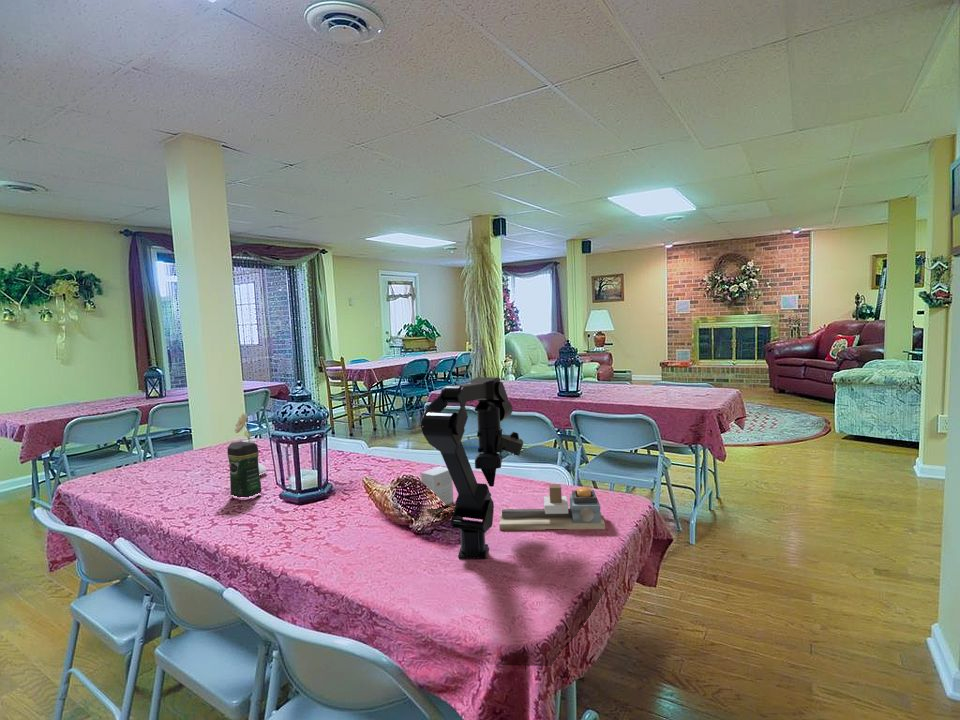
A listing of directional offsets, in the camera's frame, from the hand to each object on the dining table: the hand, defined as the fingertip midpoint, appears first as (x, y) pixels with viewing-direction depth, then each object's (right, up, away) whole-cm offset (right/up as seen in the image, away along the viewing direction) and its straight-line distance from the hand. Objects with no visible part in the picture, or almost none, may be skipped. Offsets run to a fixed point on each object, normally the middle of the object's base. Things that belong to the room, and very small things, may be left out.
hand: (491, 486), depth 128 cm
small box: (-16, -11, +22) cm, 30 cm away
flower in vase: (-89, -12, +60) cm, 109 cm away
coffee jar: (-80, -13, +37) cm, 90 cm away
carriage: (+17, -7, +5) cm, 19 cm away
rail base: (+16, -11, +5) cm, 20 cm away
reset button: (+25, -4, +4) cm, 25 cm away
